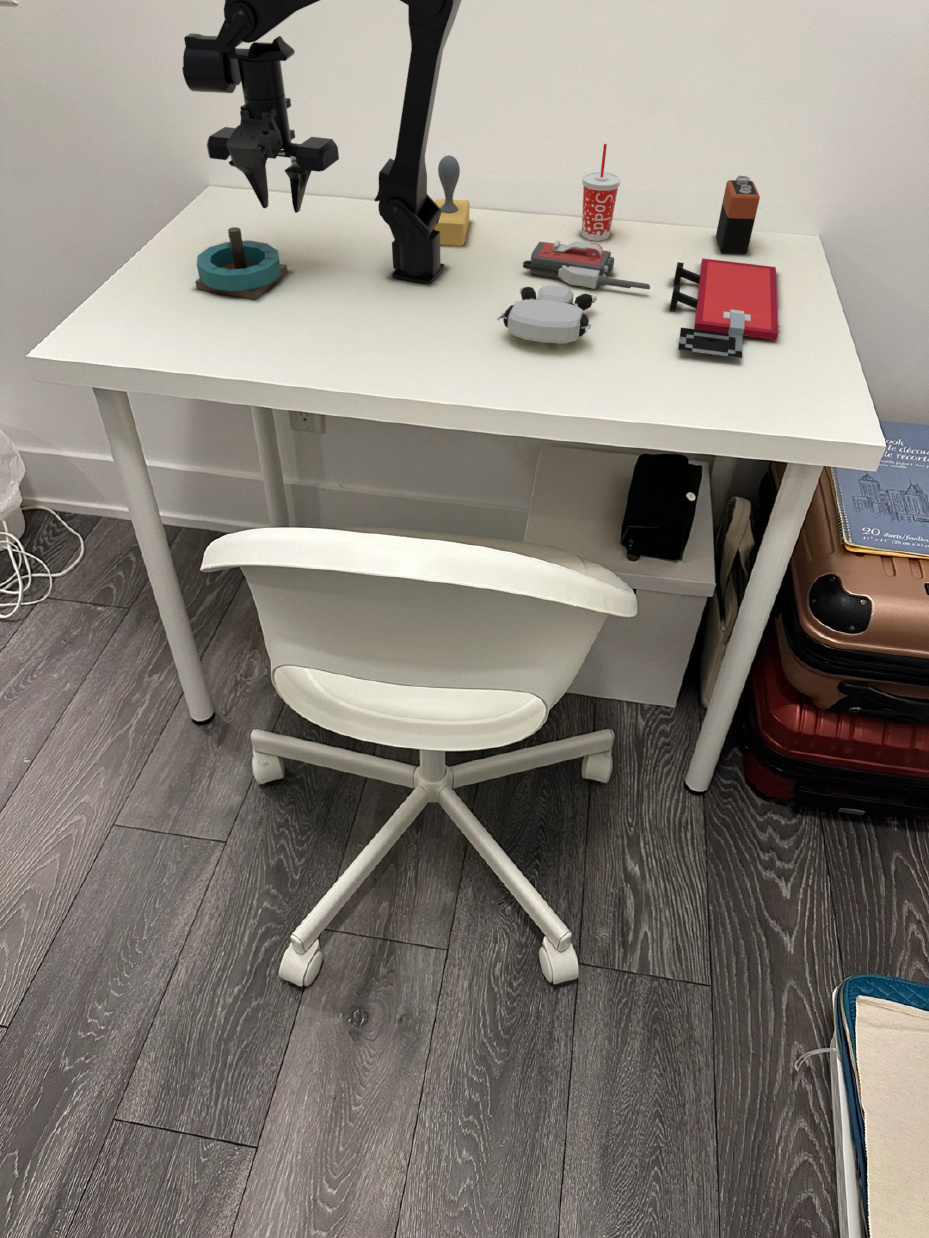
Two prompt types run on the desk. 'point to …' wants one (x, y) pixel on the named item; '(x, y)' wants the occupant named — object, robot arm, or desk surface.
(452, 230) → the rubber stamp
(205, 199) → the desk surface
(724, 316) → the red board with handle
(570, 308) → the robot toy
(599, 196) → the beverage cup
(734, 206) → the battery
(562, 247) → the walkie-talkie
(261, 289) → the stand
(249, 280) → the ring
